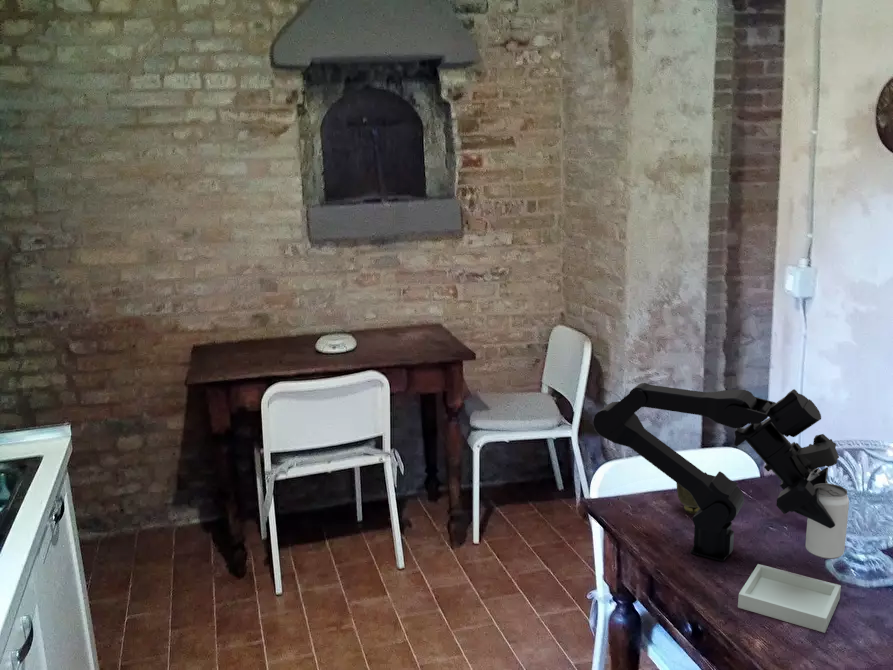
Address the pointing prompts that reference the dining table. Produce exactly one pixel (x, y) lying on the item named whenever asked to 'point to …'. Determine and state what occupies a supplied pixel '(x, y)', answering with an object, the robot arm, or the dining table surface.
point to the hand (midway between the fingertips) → (835, 519)
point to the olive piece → (687, 500)
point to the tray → (790, 597)
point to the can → (821, 537)
